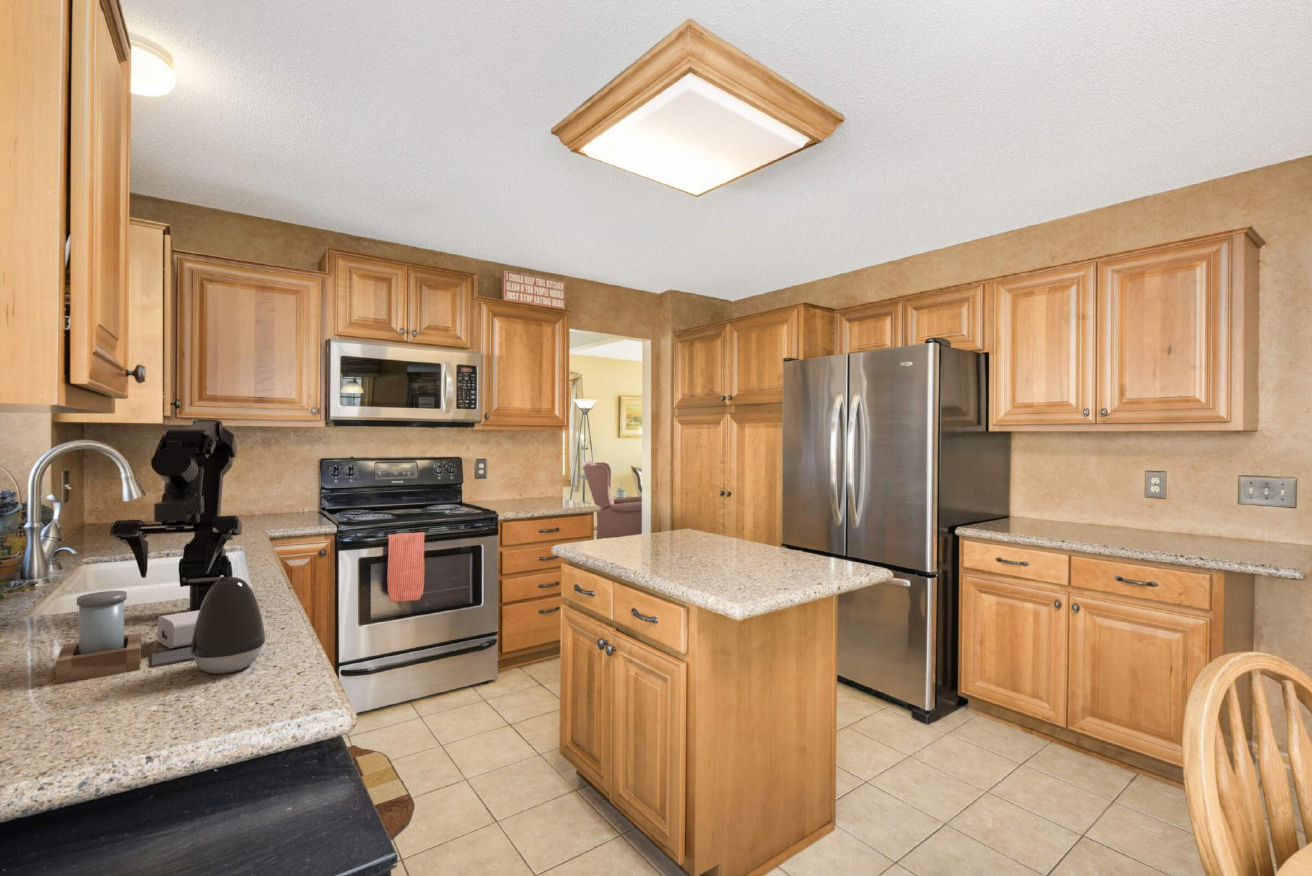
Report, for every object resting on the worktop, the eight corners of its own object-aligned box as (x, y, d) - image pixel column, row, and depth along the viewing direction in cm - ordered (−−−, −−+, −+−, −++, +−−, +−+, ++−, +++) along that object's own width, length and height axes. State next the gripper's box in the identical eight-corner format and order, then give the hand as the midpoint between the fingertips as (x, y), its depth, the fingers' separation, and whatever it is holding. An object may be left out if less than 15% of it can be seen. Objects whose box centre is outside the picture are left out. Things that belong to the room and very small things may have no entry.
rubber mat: (151, 655, 108) (151, 653, 108) (201, 647, 113) (201, 645, 113) (151, 667, 103) (151, 664, 103) (203, 658, 107) (203, 655, 107)
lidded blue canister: (77, 666, 103) (78, 594, 103) (126, 658, 107) (127, 589, 107) (73, 677, 98) (74, 602, 98) (125, 668, 102) (125, 596, 102)
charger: (265, 632, 122) (172, 650, 110) (247, 624, 127) (156, 640, 115) (266, 608, 122) (173, 623, 110) (248, 601, 127) (157, 615, 115)
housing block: (63, 665, 103) (63, 644, 103) (141, 652, 110) (141, 633, 110) (55, 683, 96) (56, 661, 96) (139, 669, 102) (140, 648, 102)
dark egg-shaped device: (256, 652, 110) (257, 568, 110) (271, 668, 103) (272, 577, 103) (185, 667, 103) (186, 576, 103) (196, 685, 96) (197, 587, 96)
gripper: (105, 481, 106) (93, 573, 101) (235, 478, 114) (230, 563, 109) (124, 497, 115) (114, 582, 110) (244, 494, 123) (239, 573, 119)
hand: (175, 575), depth 112 cm, fingers open, 9 cm apart
